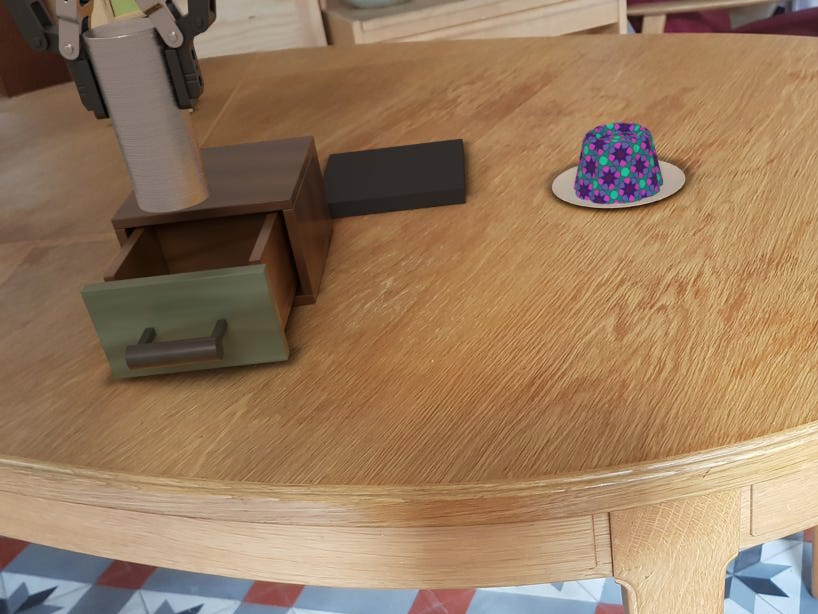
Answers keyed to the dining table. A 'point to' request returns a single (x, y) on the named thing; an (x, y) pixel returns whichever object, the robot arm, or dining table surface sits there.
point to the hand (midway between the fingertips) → (148, 109)
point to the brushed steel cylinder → (148, 115)
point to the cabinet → (259, 200)
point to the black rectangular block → (395, 178)
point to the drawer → (196, 296)
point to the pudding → (618, 170)
